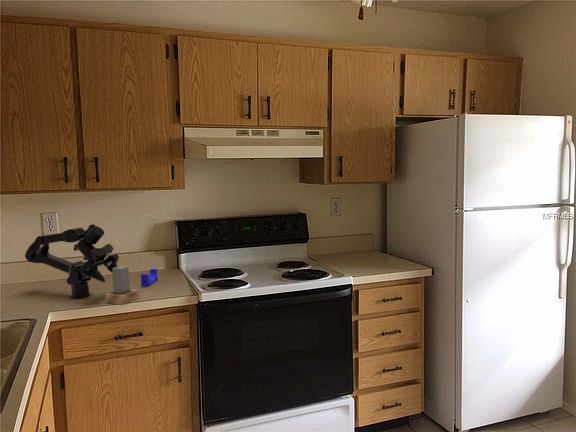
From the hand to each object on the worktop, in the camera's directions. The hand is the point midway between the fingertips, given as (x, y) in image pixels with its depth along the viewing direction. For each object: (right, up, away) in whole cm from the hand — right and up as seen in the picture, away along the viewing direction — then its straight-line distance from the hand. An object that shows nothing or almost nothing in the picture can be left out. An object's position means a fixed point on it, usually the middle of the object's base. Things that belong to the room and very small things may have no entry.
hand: (112, 278), depth 200 cm
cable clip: (+7, -6, +27) cm, 28 cm away
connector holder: (+4, -9, 0) cm, 10 cm away
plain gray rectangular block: (+4, -8, -1) cm, 9 cm away
